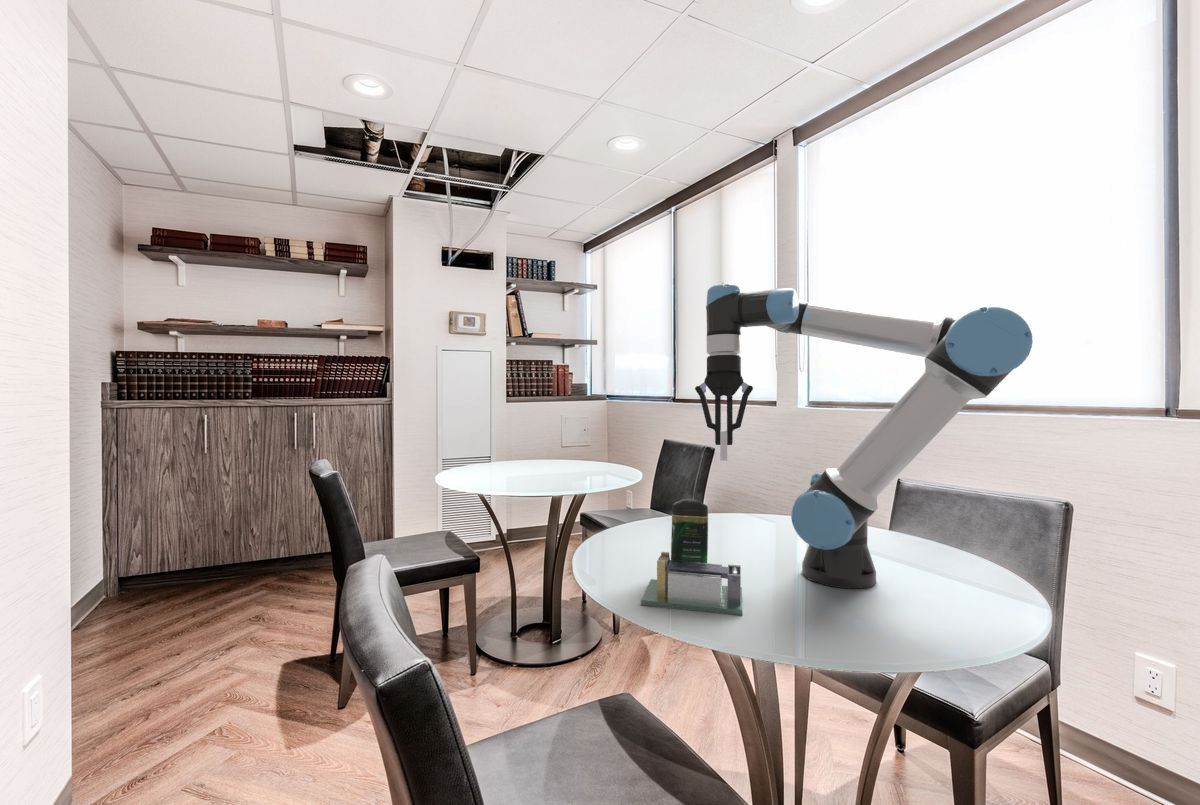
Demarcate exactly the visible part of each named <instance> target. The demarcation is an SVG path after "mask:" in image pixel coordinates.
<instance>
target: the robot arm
mask: <svg viewBox="0 0 1200 805" xmlns="http://www.w3.org/2000/svg"><path fill="white" fill-rule="evenodd" d="M705 310H706V354H707V355H709V356H707V357H706V375H705V376H706V377H705V378H704V382H702V383H700V384H699V385H696V386H695V388H694V390H695V391H696V393H697V395H698V396H699V399H700V402H701V403H700V404H701V407H702V410H703V415H704V419H705V423H706V427H707V428H708V429H711V430H714V432H715V433H714V443H715V445H716V446H720V450H719V451H720V461H728V446H733V440H734V438H733V431H734V430H737V429H740V428H741V427H742V423H743V419H744V414H745V410H746V407H747V402H748V397H749V396H750V394H751V393H752V391H753V390H754V387H753V385H750V384H748V383H747V382H745V381H744V378H743V376H742V357H741V355H739V354H741V351H742V336H741V335H742V328H749V327H751V328H752V327H768V328H770V329H774V330H776V331H778V332H780V333H785V334H789V333H790V334H794V335H795V334H796V335H802V336H808V337H814V338H818V339H825V340H830V341H835V342H840V343H846V344H851V345H858V346H862V347H867V348H872V349H878V350H884V351H889V352H894V353H895V352H896V353H899V354H900V353H901V354H905V355H906V354H907V355H910V356H911V355H912V356H917V357H922V358H924V365H925V366H924V367H925V371H924V372H923V373H922V375H920V377H919V378H918V379H917V380H916V381H915V382H914V383H913V384H912V385H911V387H910V388H909V389H907V391H906V393H904V394H903V395H902V397H901V398H900V399H899V400H898V401H897V402H896V403H895V404H894V406H893V407H892V408H891V409H890V410H889V411H888V412H887V413H886V415H884V417H883V418H882V419H881V420H880V421H879V422H878V423H877V424H876V426H874V428H873V429H872V430H871V431H870V432H869V433H868V435H866V437H865V438H863V439H862V441H861V442H860V443H859V444H858V446H857V447H856V448H855V449H854V450H853V451H852V452H851V453H850V454H849V456H847V458H846V459H845V460H844V461H843V462H842V464H841V465H840V466H838V467H829V468H826V469H825V470H824V471H823V472H822V473H821V472H820V473H817V472H815V473H813V474H812V475H811V478H810V482H809V485H810V487H809V488H808V489H807V490H806V492H803V493H802V494H800V495H798V497H797V498H796V499H795V501H794V503H793V506H792V508H791V512H790V514H791V515H790V517H791V523H792V527H793V529H794V531H795V532H796V534H797V536H798V537H799V538H800V539H801V540H802V541H803V542H805V543H806V544H807V545H808V546H807V549H806V551H805V555H804V557H803V560H802V564H801V565H802V566H801V568H802V569H801V570H802V571H801V573H802V575H803V576H804V577H805V578H807V579H808V580H810V581H813V582H816V583H818V584H821V585H825V586H830V587H836V588H841V589H842V588H844V589H862V588H863V589H864V588H869V587H872V586H875V584H877V571H876V568H875V564H874V560H873V558H872V555H871V553H870V549H869V547H868V534H869V533H868V528H869V527H868V526H869V524H868V520H869V518H870V517H872V515H874V514H875V512H876V511H877V510H878V509H879V507H878V497H879V495H880V494H882V492H883V491H884V490H886V489H887V487H888V486H889V485H890V484H891V483H892V482H893V481H894V480H895V479H896V478H897V477H898V475H900V474H901V473H902V471H904V469H905V468H906V467H907V466H908V465H909V464H910V463H911V462H912V461H913V460H914V459H915V458H916V457H917V456H918V455H919V454H920V453H921V452H922V450H924V449H925V447H927V445H928V444H929V443H930V442H931V441H933V439H934V438H935V437H936V436H937V435H938V434H940V432H941V431H942V430H943V428H945V427H946V425H948V423H949V422H951V421H952V419H954V417H955V416H956V415H957V414H958V413H959V412H960V411H961V410H962V409H963V408H964V407H965V406H966V405H967V404H968V403H969V401H972V400H977V399H985V398H987V397H988V396H989V395H990V394H991V393H992V392H993V391H994V390H995V389H996V388H997V387H998V385H999V384H1001V382H1002V381H1004V380H1005V378H1006V377H1007V376H1008V375H1009V374H1010V373H1011V372H1013V371H1014V369H1017V368H1019V367H1020V366H1021V365H1023V363H1024V362H1025V361H1026V359H1027V358H1029V357H1028V356H1029V355H1030V354H1031V350H1032V347H1033V334H1032V330H1031V328H1030V326H1029V324H1028V323H1027V321H1026V320H1025V319H1024V318H1023V317H1022V316H1021V315H1020V314H1018V313H1016V312H1015V311H1013V310H1010V309H1009V308H1006V307H1005V308H1004V307H1000V306H982V307H977V308H974V309H971V310H969V311H967V312H964V313H963V314H962V315H960V316H958V317H950V316H949V317H948V316H943V317H941V318H939V319H937V320H934V319H933V320H932V319H926V318H920V317H914V316H913V317H912V316H906V315H900V314H899V315H898V314H892V313H887V312H886V313H885V312H878V311H870V310H865V309H864V310H863V309H857V308H852V307H845V306H837V305H830V304H824V303H816V302H811V301H810V302H809V301H804V300H799V296H798V293H797V291H796V289H794V288H791V287H787V288H785V287H784V288H780V287H776V288H773V289H767V290H765V289H764V290H757V291H749V292H743V291H742V288H741V287H740V286H739V285H738V284H736V283H735V284H734V283H727V284H725V283H722V284H717V285H713V286H711V287H709V288H708V290H707V293H706V306H705ZM707 388H708V389H709V391H710V392H711V393H712V395H713V396H714V422H713V420H712V416H711V412H710V408H709V404H708V400H707V396H706V392H707ZM740 388H741V393H742V396H741V398H740V399H741V400H740V403H739V407H738V408H739V409H738V412H737V416H736V419H735V422H734V423H733V396H734V395H735V394H736V393H737V392H738V391H739V389H740ZM724 396H725V397H726V430H721V429H722V427H721V426H722V423H721V422H722V418H721V416H722V415H721V414H722V412H721V411H722V408H721V407H722V400H721V399H722V397H724Z"/></svg>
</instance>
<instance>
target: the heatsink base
mask: <svg viewBox="0 0 1200 805" xmlns="http://www.w3.org/2000/svg"><path fill="white" fill-rule="evenodd" d="M660 556H666V557H670V552H669V551H661V552H660ZM683 562H688V561H683ZM691 563H699V564H707V565H715V566H723V564H722V563H712V562H711V563H710V562H707V563H701V562H691ZM727 567H729V574H728V579H727V585H723V578H721V575H710V574H698V573H686V572H674V571H666V560H658V559H657V560H656V579H654V578H653V579H652V578H651V579H650V580H649V583H648V585H647V587H646V589H645V591H644V593H643V595H642V597H641V600H640V606H644V605H648V606H647V607H654V606H655V608H666V609H674V610H675V609H676V610H684V611H685V610H686V611H694V612H696V611H697V612H703V613H713V614H721V615H722V614H723V615H734V616H743V587H742V585H741V584H742V583H741V582H742V581H741V579H742V578H741V576H742V575H741V565H740V564H739V565H736V564H728V565H727Z"/></svg>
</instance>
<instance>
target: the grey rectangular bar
mask: <svg viewBox="0 0 1200 805" xmlns="http://www.w3.org/2000/svg"><path fill="white" fill-rule="evenodd" d="M657 560H666V571H674V572H686V573H698V574H710V575H721V578H722V579H727V580H728V574H729V567H728V566H723V565H722V566H715V565H707V564H699V563H691V562H683V561H675V560H671V556H669V557H666V556H661V555H660V556H659V558H658V559H657Z"/></svg>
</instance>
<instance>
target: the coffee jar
mask: <svg viewBox="0 0 1200 805" xmlns="http://www.w3.org/2000/svg"><path fill="white" fill-rule="evenodd" d="M671 507H672V509H671V535H670V536H671V539H670V540H671V542H670V560H675V561H688V562H701V563H708V553H709V552H708V549H709V547H708V546H709V507H708V505H707V504H705V503H703V502H701V501H700V500H698V499H695V498H690V497H687V498H681V499H680V500H678V501H676V502H673V504H672V505H671Z"/></svg>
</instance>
